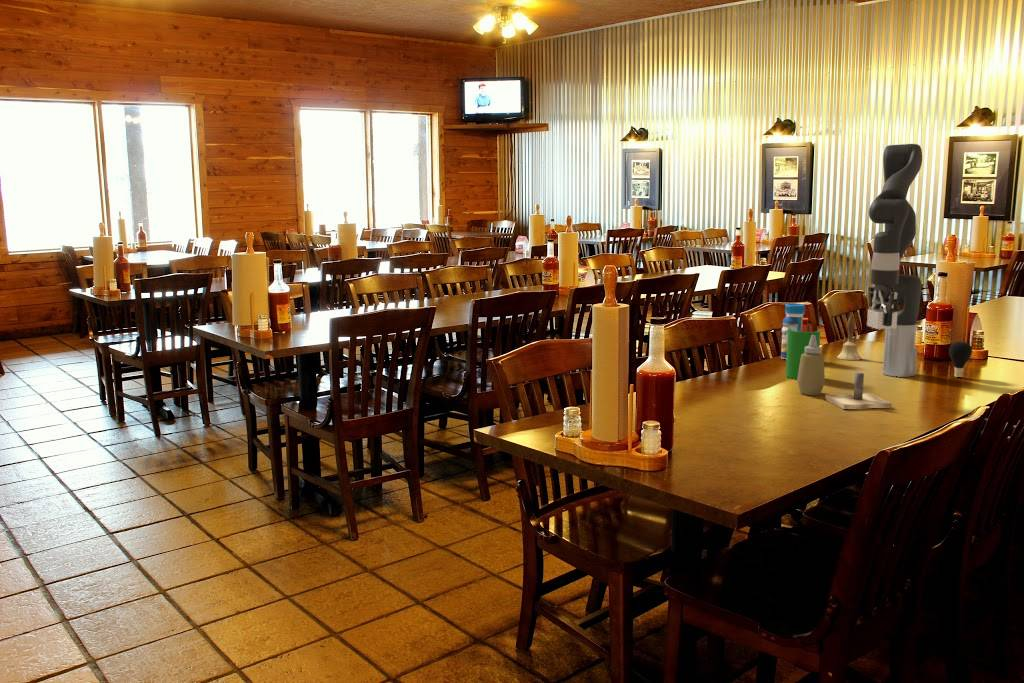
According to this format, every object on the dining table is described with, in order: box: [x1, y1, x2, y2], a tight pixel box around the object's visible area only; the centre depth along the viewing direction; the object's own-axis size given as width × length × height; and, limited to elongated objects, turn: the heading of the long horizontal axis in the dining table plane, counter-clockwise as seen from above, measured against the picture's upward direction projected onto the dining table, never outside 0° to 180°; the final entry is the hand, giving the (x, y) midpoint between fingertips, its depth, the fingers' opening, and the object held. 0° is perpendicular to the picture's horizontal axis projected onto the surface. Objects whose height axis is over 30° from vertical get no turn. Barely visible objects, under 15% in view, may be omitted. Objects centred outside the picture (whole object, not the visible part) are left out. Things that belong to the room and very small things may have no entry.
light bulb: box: [948, 340, 973, 378], centre depth 289 cm, size 7×7×12 cm
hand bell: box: [836, 314, 862, 361], centre depth 321 cm, size 8×8×16 cm
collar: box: [866, 308, 898, 330], centre depth 263 cm, size 6×6×5 cm
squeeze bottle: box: [796, 335, 826, 396], centre depth 268 cm, size 8×8×18 cm
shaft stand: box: [824, 372, 893, 410], centre depth 256 cm, size 14×12×9 cm
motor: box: [785, 317, 821, 380], centre depth 290 cm, size 10×9×20 cm
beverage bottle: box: [780, 302, 806, 360], centre depth 319 cm, size 8×8×20 cm
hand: (881, 323), depth 264 cm, fingers closed on collar, 6 cm apart
